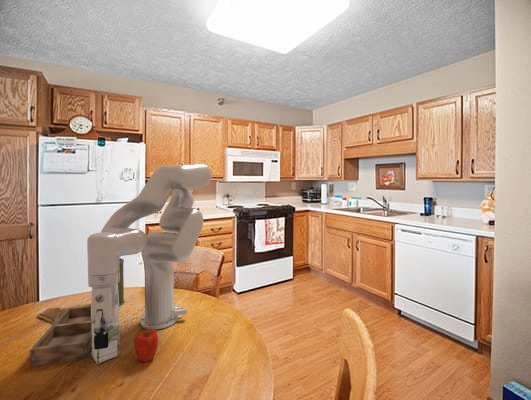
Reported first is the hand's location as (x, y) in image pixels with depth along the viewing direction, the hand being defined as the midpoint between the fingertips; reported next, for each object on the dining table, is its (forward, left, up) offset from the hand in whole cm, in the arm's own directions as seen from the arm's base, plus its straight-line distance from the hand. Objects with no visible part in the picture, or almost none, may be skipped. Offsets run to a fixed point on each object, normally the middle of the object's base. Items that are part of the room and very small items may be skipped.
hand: (105, 339), depth 76 cm
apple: (-11, +4, -5) cm, 13 cm away
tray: (+11, -13, -5) cm, 18 cm away
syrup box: (0, 0, -5) cm, 5 cm away
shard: (+23, -31, -6) cm, 39 cm away
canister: (+7, -36, -5) cm, 37 cm away
